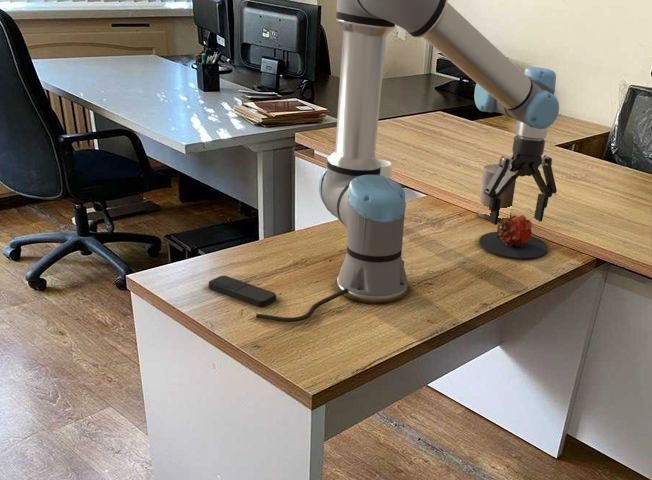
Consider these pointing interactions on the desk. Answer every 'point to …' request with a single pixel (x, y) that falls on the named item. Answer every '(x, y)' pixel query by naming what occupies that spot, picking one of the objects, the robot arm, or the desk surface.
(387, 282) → the robot arm
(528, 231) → the dragon fruit
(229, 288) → the remote control
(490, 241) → the mat
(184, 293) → the desk surface
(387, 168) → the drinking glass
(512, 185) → the pillar candle
